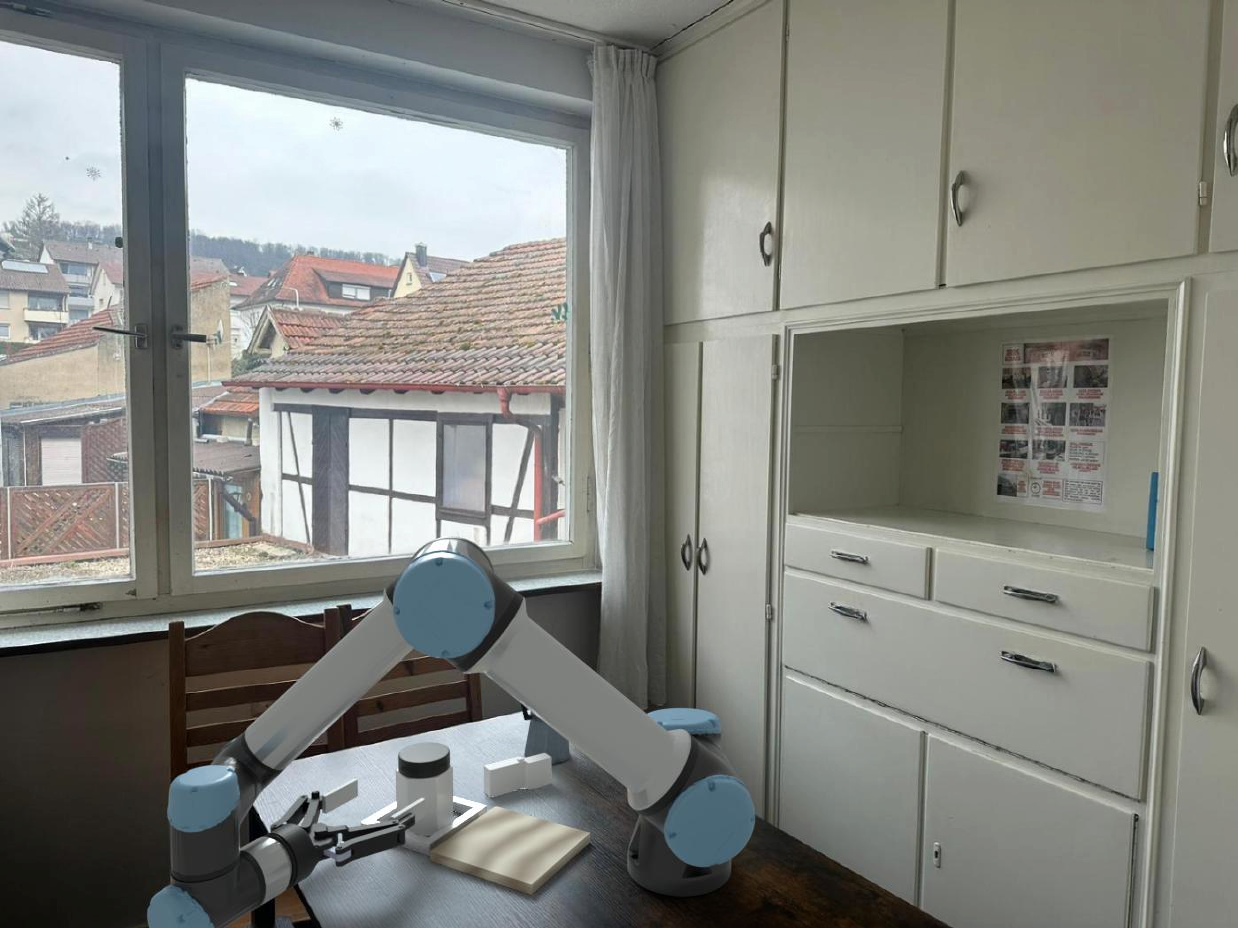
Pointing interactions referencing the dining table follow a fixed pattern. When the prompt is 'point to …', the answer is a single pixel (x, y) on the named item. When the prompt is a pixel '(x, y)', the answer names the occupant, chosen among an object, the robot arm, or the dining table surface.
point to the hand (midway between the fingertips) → (389, 796)
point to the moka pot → (544, 739)
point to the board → (511, 849)
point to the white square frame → (426, 844)
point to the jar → (426, 785)
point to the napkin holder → (517, 774)
